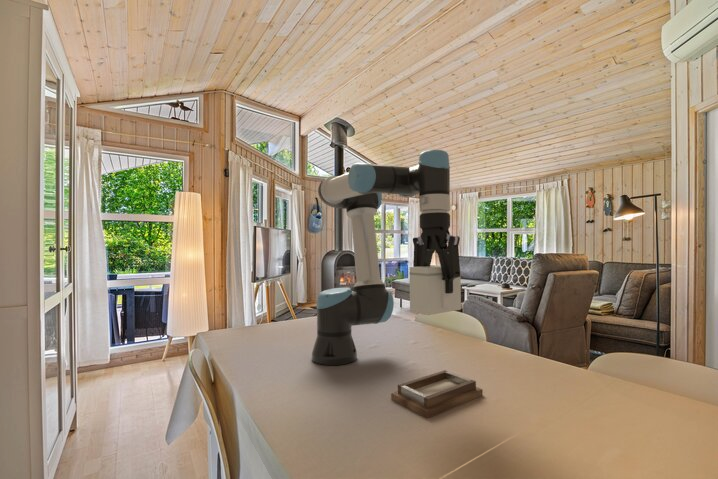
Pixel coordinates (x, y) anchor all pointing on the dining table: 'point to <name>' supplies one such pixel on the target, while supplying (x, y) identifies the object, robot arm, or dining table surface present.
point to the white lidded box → (431, 291)
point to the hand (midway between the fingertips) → (435, 304)
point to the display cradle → (436, 393)
